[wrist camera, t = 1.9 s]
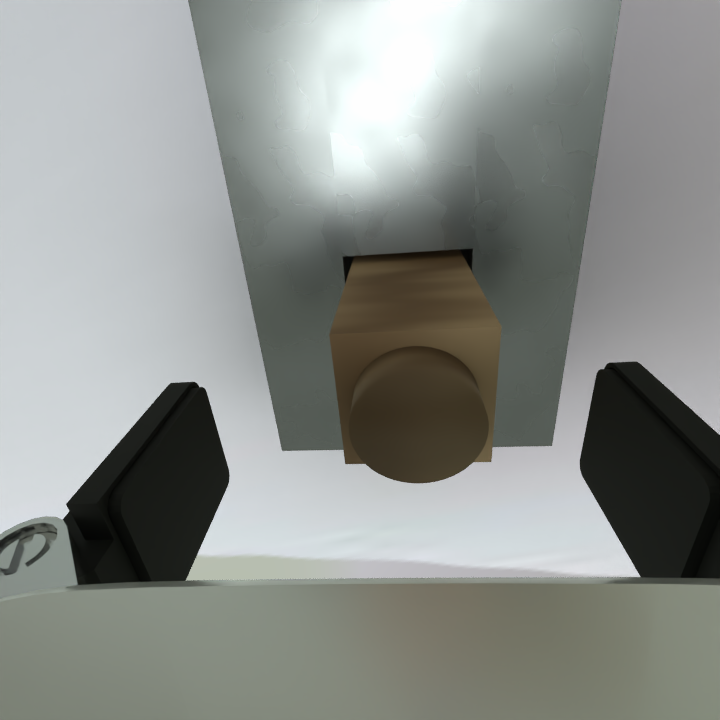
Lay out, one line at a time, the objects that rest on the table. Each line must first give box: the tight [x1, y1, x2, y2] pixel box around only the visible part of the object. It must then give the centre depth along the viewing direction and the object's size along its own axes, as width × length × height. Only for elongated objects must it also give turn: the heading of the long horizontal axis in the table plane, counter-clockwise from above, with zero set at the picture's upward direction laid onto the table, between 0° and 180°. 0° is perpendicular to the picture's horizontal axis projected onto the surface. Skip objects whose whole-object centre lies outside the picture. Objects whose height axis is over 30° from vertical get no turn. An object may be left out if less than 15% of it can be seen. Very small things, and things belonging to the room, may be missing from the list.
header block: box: [188, 0, 622, 451], centre depth 16 cm, size 12×26×5 cm, turn 5°
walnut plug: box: [329, 249, 501, 483], centre depth 15 cm, size 4×4×11 cm
